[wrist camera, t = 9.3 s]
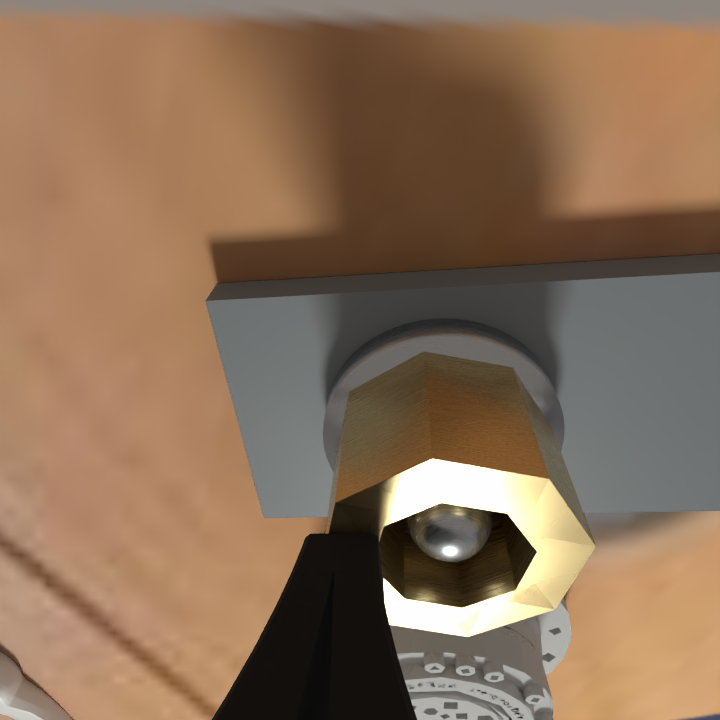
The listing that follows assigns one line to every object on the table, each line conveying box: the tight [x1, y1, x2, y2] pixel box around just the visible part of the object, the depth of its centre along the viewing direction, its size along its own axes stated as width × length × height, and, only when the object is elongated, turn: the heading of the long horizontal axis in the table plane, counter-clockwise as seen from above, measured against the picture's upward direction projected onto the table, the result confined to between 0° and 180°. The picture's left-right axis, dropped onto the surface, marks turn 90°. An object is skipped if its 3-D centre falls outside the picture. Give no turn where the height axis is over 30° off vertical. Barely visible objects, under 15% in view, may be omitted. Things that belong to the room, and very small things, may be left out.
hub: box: [323, 319, 565, 562], centre depth 13 cm, size 6×6×4 cm
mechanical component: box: [390, 597, 572, 720], centre depth 19 cm, size 10×4×10 cm
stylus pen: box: [0, 652, 73, 720], centre depth 26 cm, size 15×3×2 cm, turn 19°
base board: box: [206, 254, 720, 518], centre depth 14 cm, size 20×8×1 cm, turn 95°
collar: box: [325, 351, 596, 637], centre depth 12 cm, size 5×5×4 cm
